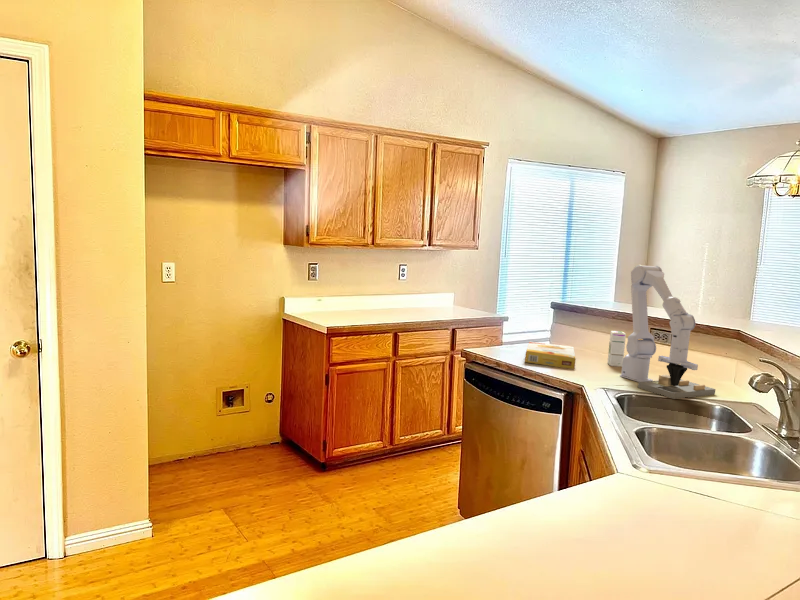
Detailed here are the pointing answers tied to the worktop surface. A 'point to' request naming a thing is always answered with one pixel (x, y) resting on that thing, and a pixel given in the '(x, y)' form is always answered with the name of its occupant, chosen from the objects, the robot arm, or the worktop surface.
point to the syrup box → (616, 348)
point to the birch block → (664, 380)
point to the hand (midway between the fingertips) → (674, 385)
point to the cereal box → (550, 355)
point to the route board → (677, 389)
